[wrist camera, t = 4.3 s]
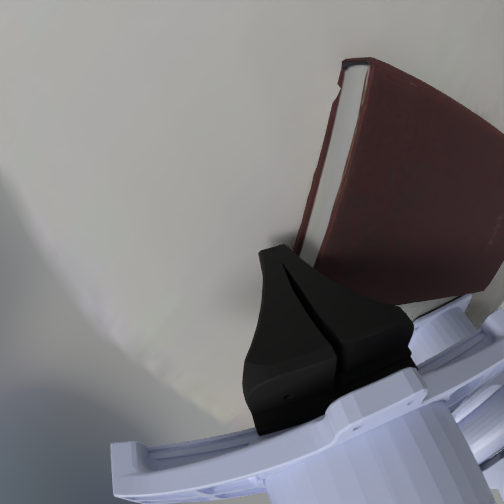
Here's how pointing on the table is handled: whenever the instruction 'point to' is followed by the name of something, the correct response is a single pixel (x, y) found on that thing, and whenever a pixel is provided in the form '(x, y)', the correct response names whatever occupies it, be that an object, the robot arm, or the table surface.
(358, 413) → the robot arm
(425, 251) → the book
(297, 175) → the table surface
